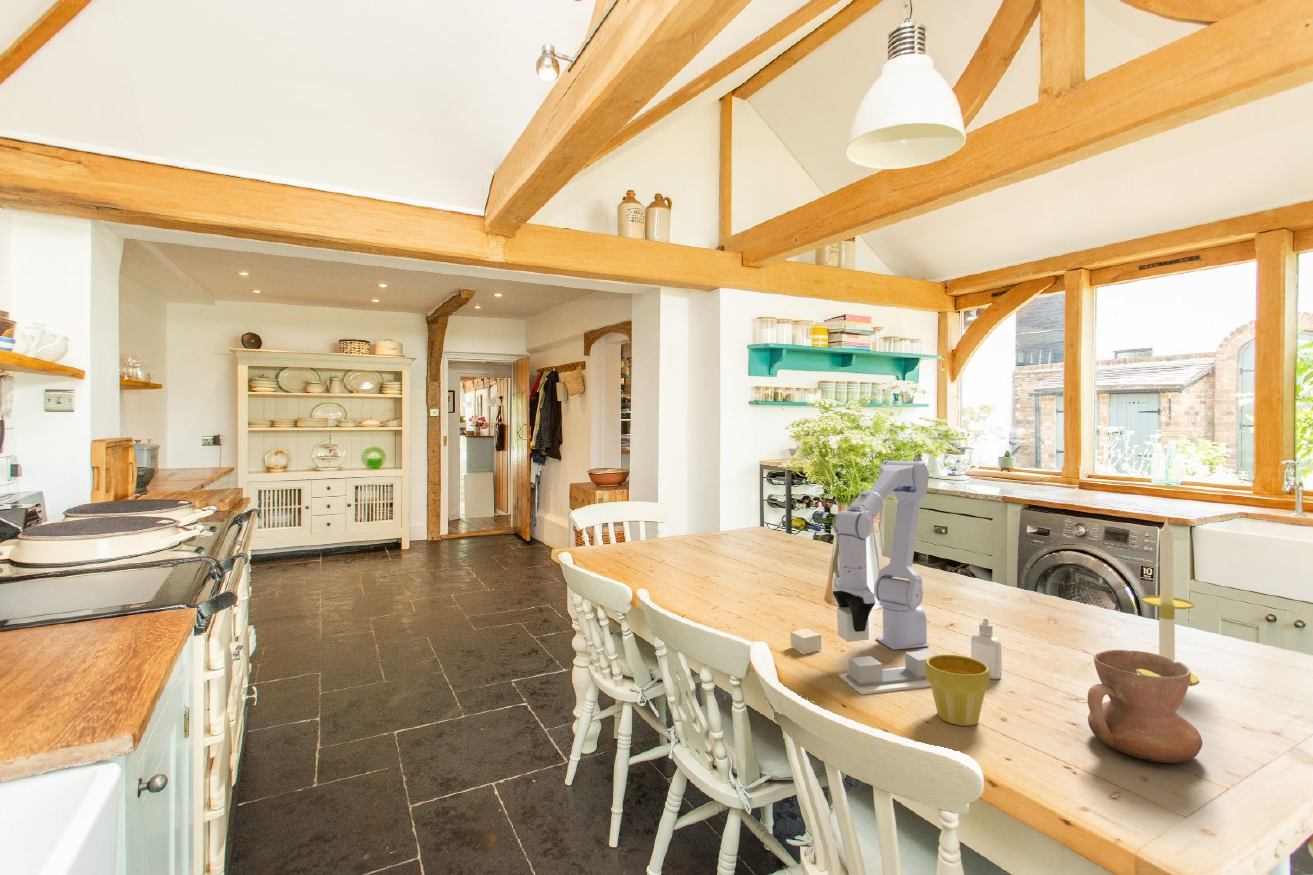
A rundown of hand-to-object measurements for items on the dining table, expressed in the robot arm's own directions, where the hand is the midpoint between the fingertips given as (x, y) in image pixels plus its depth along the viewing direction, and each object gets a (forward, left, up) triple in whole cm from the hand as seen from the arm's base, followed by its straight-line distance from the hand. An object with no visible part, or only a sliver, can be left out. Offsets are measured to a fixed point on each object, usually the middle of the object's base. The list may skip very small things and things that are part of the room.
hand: (853, 627), depth 136 cm
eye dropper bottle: (-24, +11, -9) cm, 28 cm away
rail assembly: (-4, +9, -9) cm, 13 cm away
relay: (+6, -12, -9) cm, 16 cm away
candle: (-59, +20, -9) cm, 63 cm away
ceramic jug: (-27, +42, -9) cm, 51 cm away
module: (0, 0, -2) cm, 2 cm away
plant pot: (-6, +26, -9) cm, 28 cm away
